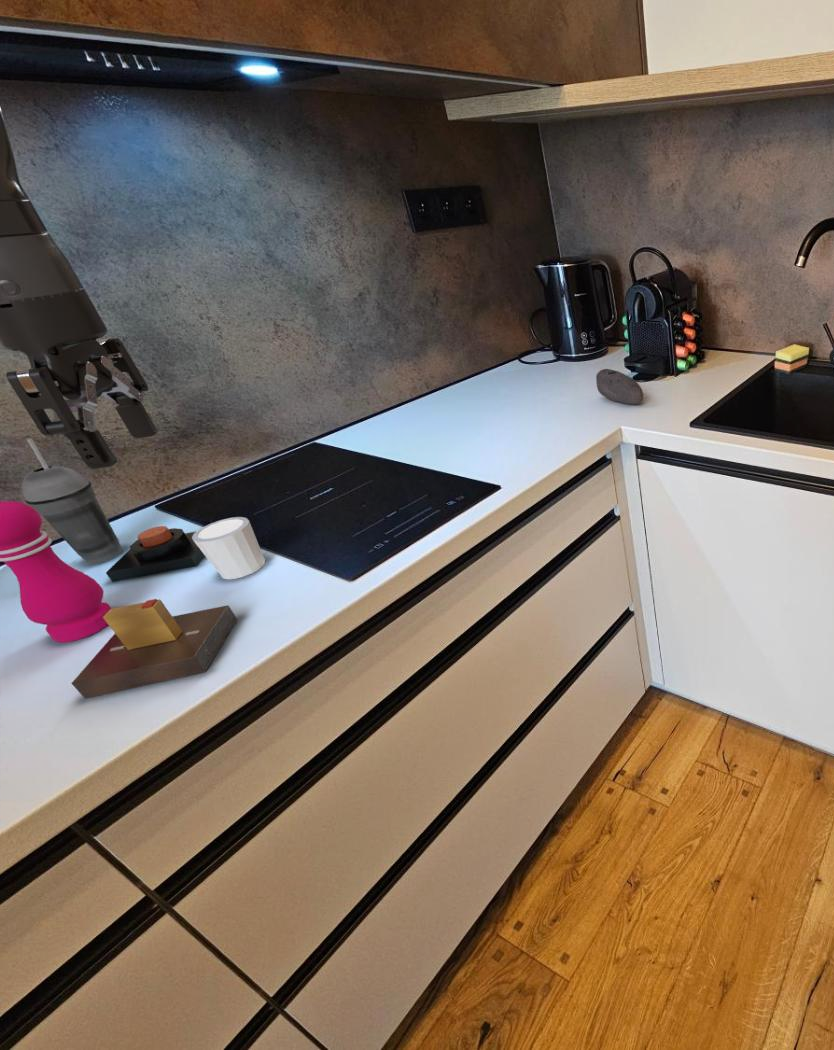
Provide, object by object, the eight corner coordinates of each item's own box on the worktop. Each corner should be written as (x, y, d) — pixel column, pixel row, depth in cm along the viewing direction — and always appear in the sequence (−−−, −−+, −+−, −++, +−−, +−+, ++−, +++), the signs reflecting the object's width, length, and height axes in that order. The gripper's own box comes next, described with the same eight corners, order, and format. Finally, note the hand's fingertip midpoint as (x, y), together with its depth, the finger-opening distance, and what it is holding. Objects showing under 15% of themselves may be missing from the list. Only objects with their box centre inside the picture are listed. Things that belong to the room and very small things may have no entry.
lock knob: (127, 650, 68) (101, 615, 66) (134, 641, 70) (109, 607, 67) (176, 640, 70) (152, 605, 67) (182, 631, 71) (159, 597, 68)
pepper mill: (51, 626, 78) (-59, 494, 67) (121, 602, 82) (27, 473, 71) (45, 654, 73) (-75, 516, 63) (119, 627, 77) (18, 492, 66)
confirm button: (138, 550, 88) (132, 540, 87) (150, 538, 91) (144, 528, 90) (166, 545, 88) (160, 535, 88) (177, 533, 91) (171, 524, 90)
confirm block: (112, 582, 86) (97, 562, 84) (143, 550, 94) (130, 532, 92) (196, 566, 89) (184, 547, 87) (220, 536, 96) (210, 518, 94)
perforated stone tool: (651, 405, 137) (648, 376, 134) (634, 411, 134) (630, 382, 131) (613, 393, 147) (609, 365, 143) (596, 398, 144) (592, 370, 140)
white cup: (215, 588, 83) (190, 547, 79) (215, 567, 88) (191, 527, 84) (271, 569, 86) (249, 529, 83) (268, 550, 91) (247, 511, 88)
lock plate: (84, 699, 66) (69, 682, 64) (131, 641, 74) (119, 625, 73) (205, 672, 68) (193, 655, 67) (237, 619, 76) (228, 603, 75)
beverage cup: (104, 544, 96) (24, 430, 86) (145, 542, 96) (70, 428, 86) (61, 570, 90) (-31, 451, 80) (105, 568, 90) (18, 448, 79)
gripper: (30, 284, 59) (121, 433, 68) (-85, 308, 48) (41, 485, 56) (117, 276, 61) (195, 422, 69) (25, 298, 49) (133, 471, 58)
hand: (126, 450), depth 63 cm, fingers open, 8 cm apart
